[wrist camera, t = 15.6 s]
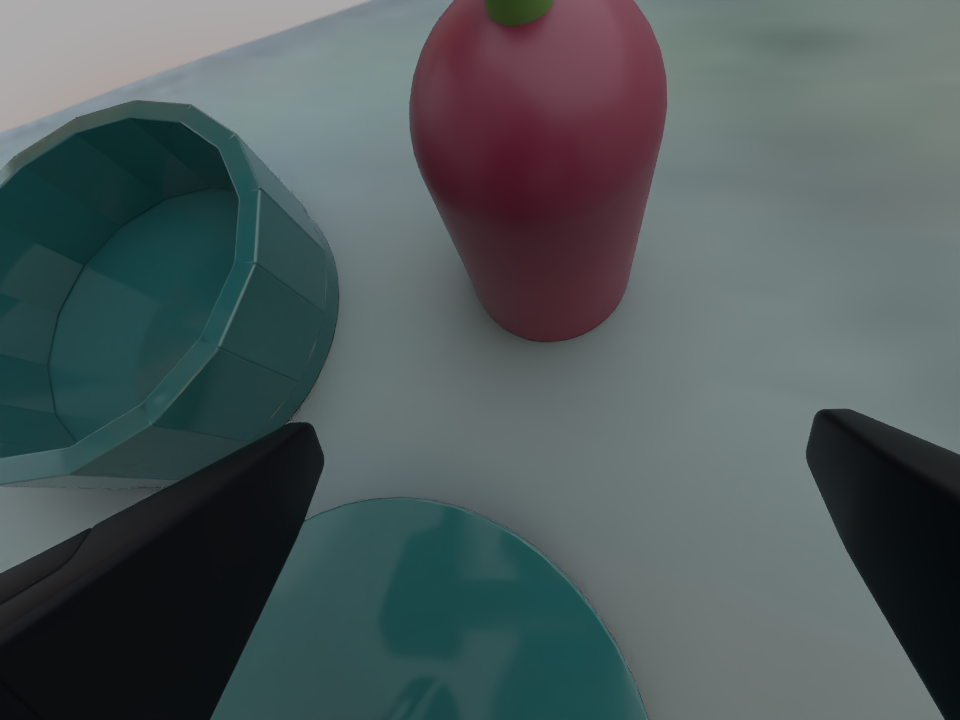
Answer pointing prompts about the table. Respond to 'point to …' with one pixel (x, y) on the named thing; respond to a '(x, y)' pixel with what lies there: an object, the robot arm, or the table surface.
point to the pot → (151, 300)
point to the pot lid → (425, 626)
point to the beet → (541, 151)
